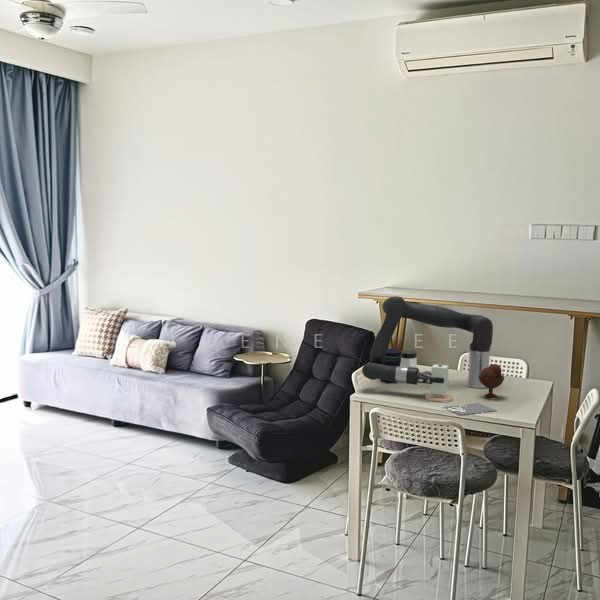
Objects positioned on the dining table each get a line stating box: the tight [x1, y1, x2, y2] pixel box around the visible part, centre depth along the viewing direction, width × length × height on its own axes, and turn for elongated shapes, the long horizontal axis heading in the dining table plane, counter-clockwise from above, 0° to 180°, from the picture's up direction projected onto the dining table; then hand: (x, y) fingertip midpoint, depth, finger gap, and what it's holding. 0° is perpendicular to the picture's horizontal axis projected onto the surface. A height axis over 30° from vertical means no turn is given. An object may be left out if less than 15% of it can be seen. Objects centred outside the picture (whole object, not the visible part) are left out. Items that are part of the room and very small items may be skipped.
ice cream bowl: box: [479, 363, 505, 399], centre depth 298 cm, size 11×11×15 cm
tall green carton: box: [430, 362, 449, 395], centre depth 294 cm, size 6×6×13 cm
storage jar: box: [379, 348, 402, 384], centre depth 325 cm, size 10×10×15 cm
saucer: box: [424, 392, 454, 402], centre depth 295 cm, size 12×12×1 cm
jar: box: [400, 349, 418, 368], centre depth 337 cm, size 9×8×12 cm
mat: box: [443, 402, 497, 417], centre depth 279 cm, size 18×12×1 cm, turn 113°
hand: (445, 379), depth 293 cm, fingers closed on tall green carton, 6 cm apart
